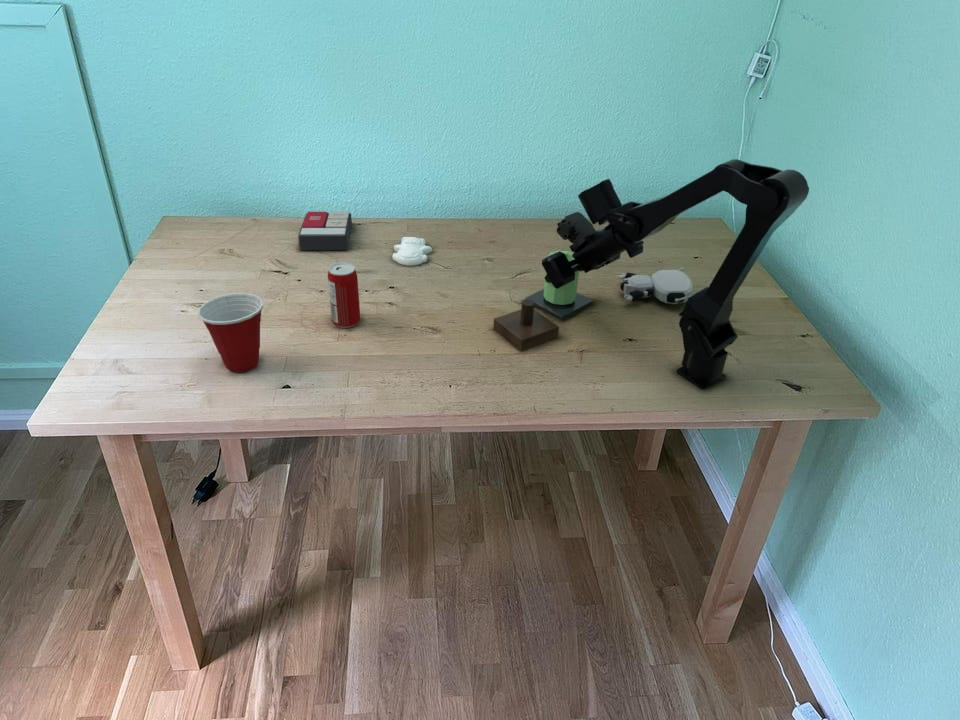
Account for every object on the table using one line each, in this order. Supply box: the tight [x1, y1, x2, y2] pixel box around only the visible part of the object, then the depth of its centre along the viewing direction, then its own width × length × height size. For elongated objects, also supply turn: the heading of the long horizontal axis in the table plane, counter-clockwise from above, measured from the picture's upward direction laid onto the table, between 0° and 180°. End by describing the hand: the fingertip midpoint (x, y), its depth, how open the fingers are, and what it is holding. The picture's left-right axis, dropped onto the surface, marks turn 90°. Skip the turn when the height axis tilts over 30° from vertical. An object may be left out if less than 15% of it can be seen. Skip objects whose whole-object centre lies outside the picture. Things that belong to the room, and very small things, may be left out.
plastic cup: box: [197, 292, 264, 374], centre depth 123 cm, size 11×11×12 cm
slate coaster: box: [525, 288, 594, 322], centre depth 148 cm, size 10×10×1 cm
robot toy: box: [617, 267, 694, 305], centre depth 150 cm, size 12×4×15 cm
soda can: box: [327, 261, 361, 329], centre depth 136 cm, size 6×6×12 cm
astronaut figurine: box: [391, 236, 433, 267], centre depth 163 cm, size 9×12×3 cm
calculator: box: [297, 211, 353, 251], centre depth 169 cm, size 11×4×15 cm
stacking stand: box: [492, 298, 560, 352], centre depth 136 cm, size 9×9×7 cm
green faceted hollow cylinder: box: [543, 250, 580, 305], centre depth 144 cm, size 6×7×9 cm
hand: (556, 274), depth 145 cm, fingers closed on green faceted hollow cylinder, 6 cm apart
